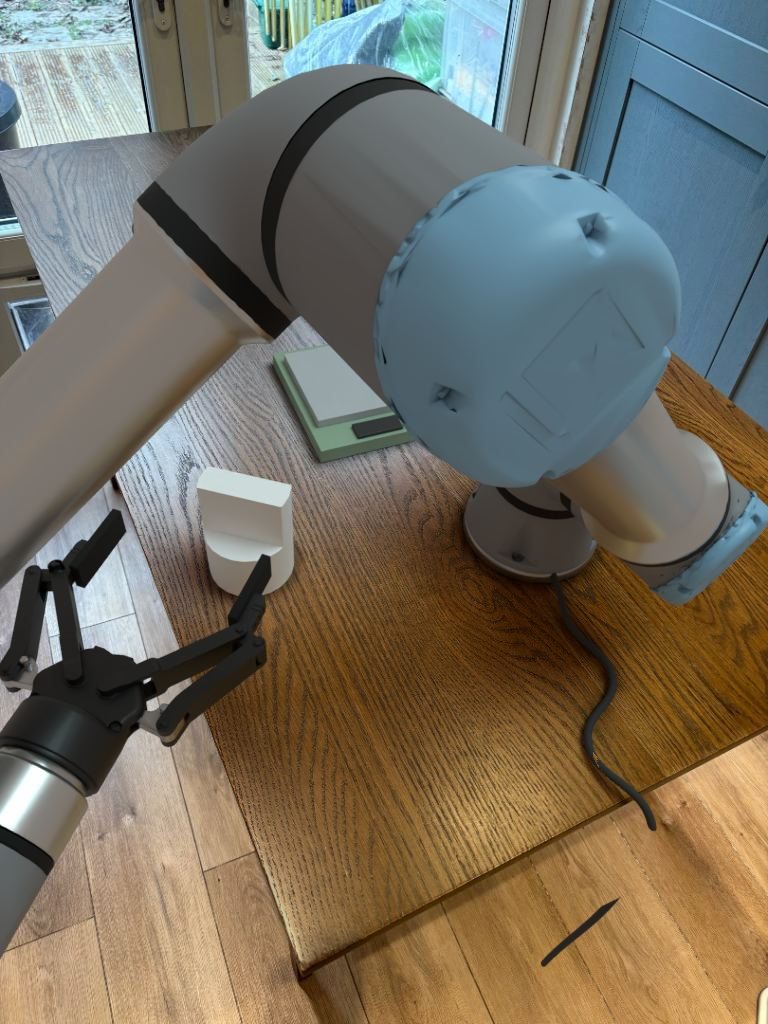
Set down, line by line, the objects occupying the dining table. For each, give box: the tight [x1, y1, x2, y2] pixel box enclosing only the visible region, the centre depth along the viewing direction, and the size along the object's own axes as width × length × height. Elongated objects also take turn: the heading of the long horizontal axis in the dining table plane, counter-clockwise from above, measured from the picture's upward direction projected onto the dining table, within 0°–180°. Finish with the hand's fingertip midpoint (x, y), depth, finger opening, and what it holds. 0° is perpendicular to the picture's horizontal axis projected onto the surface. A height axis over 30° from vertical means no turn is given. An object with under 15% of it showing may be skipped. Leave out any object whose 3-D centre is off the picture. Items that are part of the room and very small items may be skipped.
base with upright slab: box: [196, 465, 295, 597], centre depth 76 cm, size 9×9×12 cm
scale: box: [272, 343, 416, 464], centre depth 99 cm, size 20×16×3 cm
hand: (192, 541), depth 63 cm, fingers open, 13 cm apart
